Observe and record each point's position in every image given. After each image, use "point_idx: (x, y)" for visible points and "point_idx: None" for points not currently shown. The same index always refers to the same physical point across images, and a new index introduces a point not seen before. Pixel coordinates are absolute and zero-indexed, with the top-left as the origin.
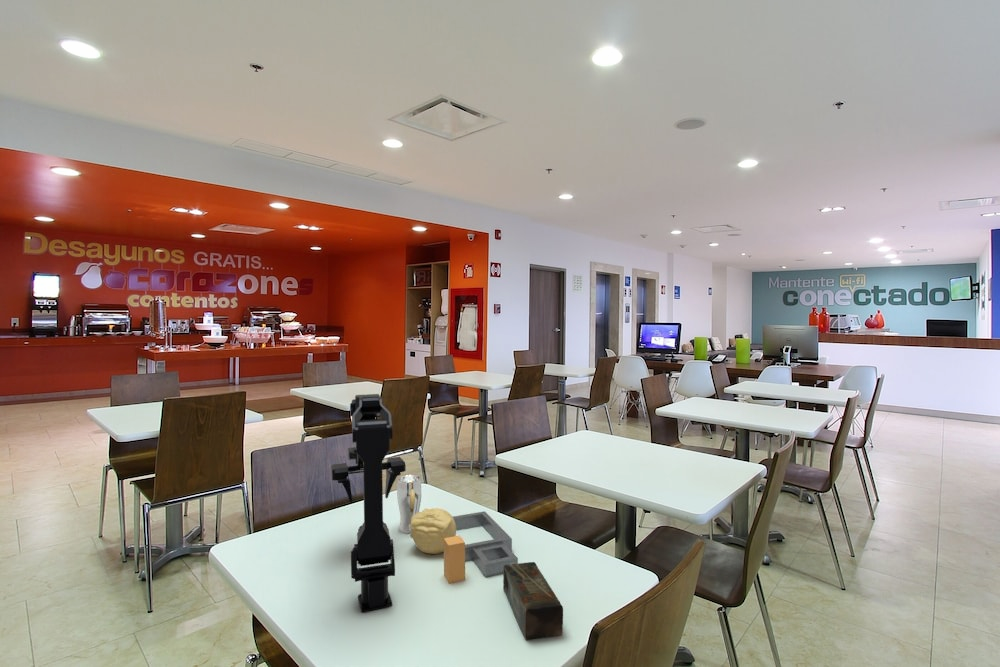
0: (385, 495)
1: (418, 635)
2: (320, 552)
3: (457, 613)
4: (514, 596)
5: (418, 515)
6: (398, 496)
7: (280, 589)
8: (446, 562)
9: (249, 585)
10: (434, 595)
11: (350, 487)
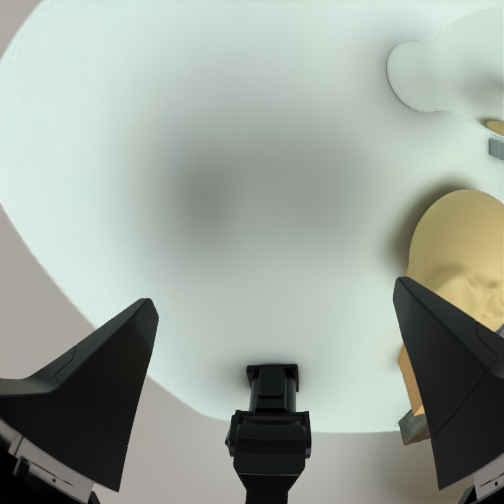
0: (400, 294)
1: (315, 418)
2: (124, 166)
3: (370, 402)
4: (420, 422)
5: (459, 303)
6: (467, 79)
7: (105, 306)
8: (409, 376)
9: (56, 276)
10: (363, 379)
11: (128, 440)
